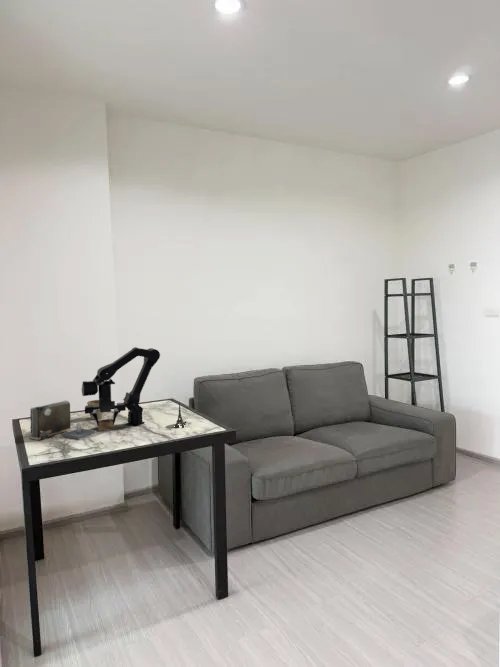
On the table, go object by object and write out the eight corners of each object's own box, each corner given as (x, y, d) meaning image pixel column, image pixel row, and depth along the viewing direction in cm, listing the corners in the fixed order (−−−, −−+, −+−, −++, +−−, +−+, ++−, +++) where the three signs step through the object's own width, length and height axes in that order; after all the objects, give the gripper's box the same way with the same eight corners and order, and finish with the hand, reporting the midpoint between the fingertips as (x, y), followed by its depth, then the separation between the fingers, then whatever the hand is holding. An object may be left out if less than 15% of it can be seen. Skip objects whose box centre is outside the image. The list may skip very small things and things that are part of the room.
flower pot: (102, 420, 244) (102, 403, 244) (84, 420, 245) (84, 403, 244) (108, 415, 254) (108, 399, 253) (91, 415, 254) (90, 399, 253)
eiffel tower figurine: (186, 422, 242) (186, 396, 241) (198, 426, 234) (197, 399, 233) (160, 428, 232) (160, 401, 231) (172, 432, 224) (171, 404, 223)
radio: (66, 426, 235) (65, 396, 234) (79, 428, 231) (78, 397, 230) (25, 439, 214) (23, 406, 213) (38, 441, 210) (37, 408, 209)
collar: (112, 425, 235) (112, 418, 234) (113, 429, 228) (113, 422, 228) (98, 426, 232) (98, 419, 232) (98, 430, 226) (98, 423, 226)
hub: (95, 433, 221) (94, 422, 221) (78, 439, 213) (78, 428, 212) (79, 430, 226) (79, 420, 226) (62, 436, 217) (62, 425, 217)
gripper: (83, 398, 218) (85, 432, 220) (125, 395, 224) (126, 428, 225) (84, 393, 229) (85, 425, 230) (124, 391, 235) (125, 422, 236)
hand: (105, 425), depth 230 cm, fingers closed on collar, 7 cm apart
